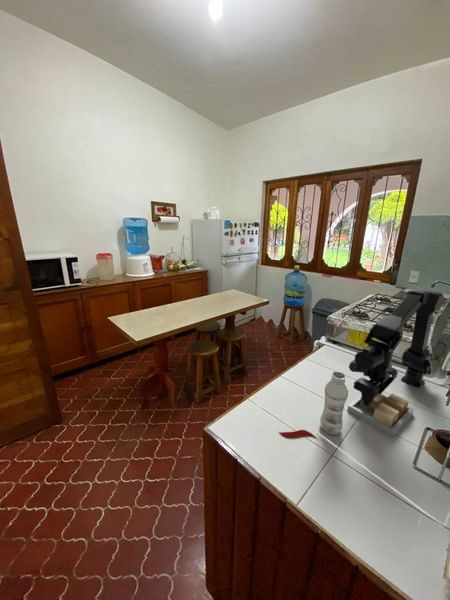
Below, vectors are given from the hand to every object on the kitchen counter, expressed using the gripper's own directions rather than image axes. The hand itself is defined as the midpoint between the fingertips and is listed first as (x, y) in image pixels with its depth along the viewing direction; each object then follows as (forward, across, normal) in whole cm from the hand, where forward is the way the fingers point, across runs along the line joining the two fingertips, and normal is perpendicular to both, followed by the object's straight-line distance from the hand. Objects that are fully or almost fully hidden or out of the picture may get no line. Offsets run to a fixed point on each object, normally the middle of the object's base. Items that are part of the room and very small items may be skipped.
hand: (371, 399), depth 86 cm
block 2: (+3, +4, +6) cm, 8 cm away
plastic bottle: (+4, +20, -3) cm, 21 cm away
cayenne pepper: (+4, +30, -8) cm, 31 cm away
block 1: (+3, 0, 0) cm, 3 cm away
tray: (+4, 0, +3) cm, 5 cm away
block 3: (+3, -4, +6) cm, 8 cm away
